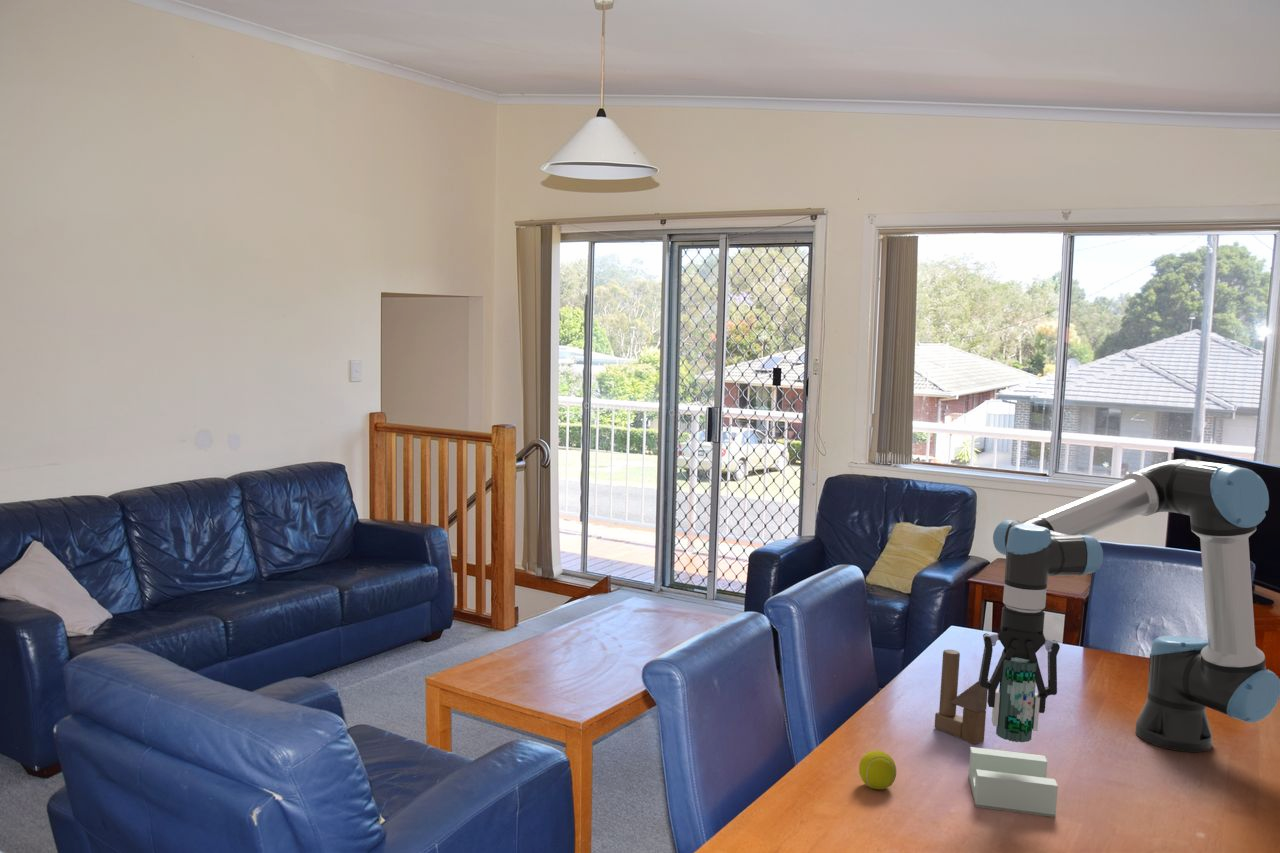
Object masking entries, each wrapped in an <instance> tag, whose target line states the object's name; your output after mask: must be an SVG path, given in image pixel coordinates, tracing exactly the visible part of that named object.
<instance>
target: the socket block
mask: <svg viewBox="0 0 1280 853" xmlns="http://www.w3.org/2000/svg"><path fill="white" fill-rule="evenodd" d="M968 760H969V762H968V775H967V776H968V780H969V784H970V787H971V788H970V789H971V792H972V793H971V794H972V797H973V802H974V806H975V808H982V809H987V810H988V809H989V810H999V811H1003V812H1004V811H1005V812H1011V813H1021V814H1025V815H1026V814H1027V815H1033V816H1034V815H1036V816H1043V817H1049V818H1050V817H1051V818H1056V814H1057V801H1058V787H1059V785H1058V783H1057V781H1056V779H1055V778H1050V777H1049V778H1048V777H1047V774H1048V771H1047V770H1048V759H1047V758H1046V756H1045V755H1042V754H1032V753H1025V752H1024V753H1023V752H1016V751H1009V750H1008V751H1007V750H999V749H998V750H997V749H991V748H983V747H974V746H970V747H969V759H968Z"/></svg>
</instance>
